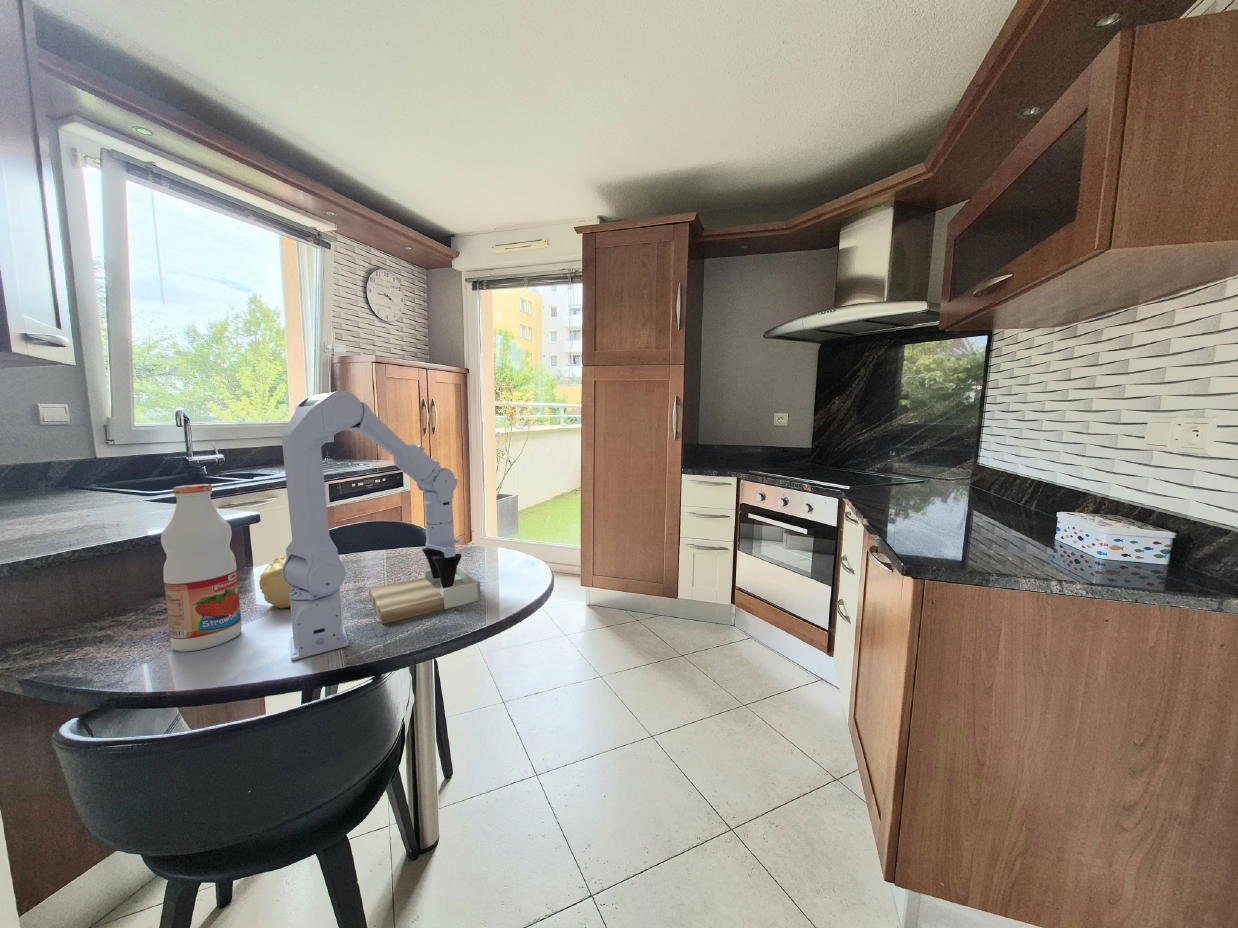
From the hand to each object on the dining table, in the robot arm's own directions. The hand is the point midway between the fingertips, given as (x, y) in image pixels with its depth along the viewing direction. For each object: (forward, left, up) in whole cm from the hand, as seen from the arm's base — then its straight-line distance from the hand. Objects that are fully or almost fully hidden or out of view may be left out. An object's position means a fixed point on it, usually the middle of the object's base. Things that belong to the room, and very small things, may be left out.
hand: (442, 582), depth 99 cm
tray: (0, -2, -3) cm, 3 cm away
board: (0, +8, -3) cm, 8 cm away
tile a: (-4, -3, -1) cm, 5 cm away
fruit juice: (+5, +40, -3) cm, 40 cm away
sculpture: (+17, +26, -3) cm, 32 cm away
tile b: (+4, -3, -1) cm, 5 cm away
